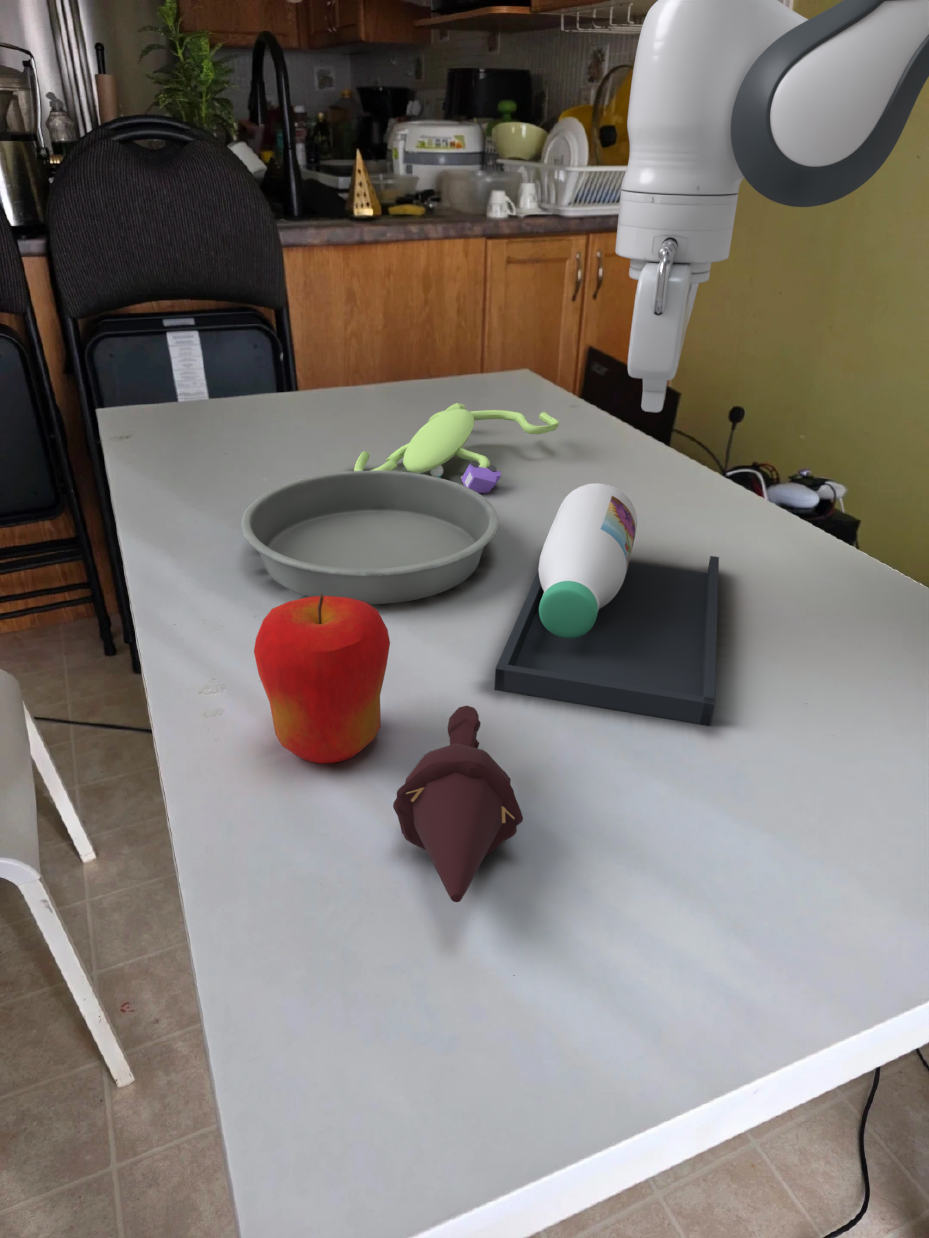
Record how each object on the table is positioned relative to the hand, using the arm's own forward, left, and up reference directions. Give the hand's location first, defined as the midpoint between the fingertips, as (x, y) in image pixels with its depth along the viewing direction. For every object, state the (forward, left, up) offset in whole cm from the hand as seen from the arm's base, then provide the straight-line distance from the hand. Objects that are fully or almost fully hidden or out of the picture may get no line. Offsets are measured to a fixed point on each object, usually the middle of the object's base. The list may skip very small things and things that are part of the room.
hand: (652, 407), depth 76 cm
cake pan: (+23, +11, -17) cm, 30 cm away
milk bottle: (+5, -3, -13) cm, 14 cm away
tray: (-3, +9, -17) cm, 19 cm away
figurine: (+32, -17, -17) cm, 40 cm away
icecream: (-7, +39, -17) cm, 43 cm away
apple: (+6, +36, -17) cm, 40 cm away
